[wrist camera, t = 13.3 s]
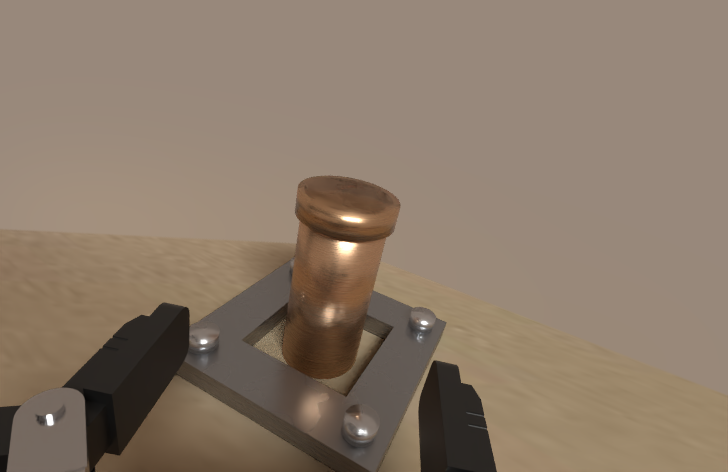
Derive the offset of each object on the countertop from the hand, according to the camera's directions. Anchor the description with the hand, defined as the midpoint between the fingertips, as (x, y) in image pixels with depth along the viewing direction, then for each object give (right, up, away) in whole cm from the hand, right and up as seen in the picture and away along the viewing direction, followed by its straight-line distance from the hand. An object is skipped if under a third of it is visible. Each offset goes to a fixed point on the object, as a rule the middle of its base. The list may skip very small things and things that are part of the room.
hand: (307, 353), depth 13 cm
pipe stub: (-1, -3, +11) cm, 11 cm away
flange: (-1, -3, +11) cm, 11 cm away
